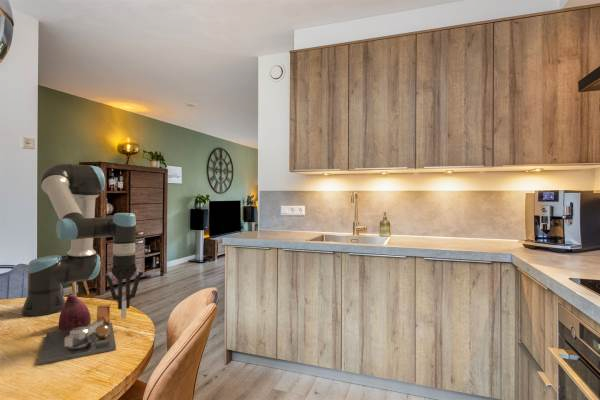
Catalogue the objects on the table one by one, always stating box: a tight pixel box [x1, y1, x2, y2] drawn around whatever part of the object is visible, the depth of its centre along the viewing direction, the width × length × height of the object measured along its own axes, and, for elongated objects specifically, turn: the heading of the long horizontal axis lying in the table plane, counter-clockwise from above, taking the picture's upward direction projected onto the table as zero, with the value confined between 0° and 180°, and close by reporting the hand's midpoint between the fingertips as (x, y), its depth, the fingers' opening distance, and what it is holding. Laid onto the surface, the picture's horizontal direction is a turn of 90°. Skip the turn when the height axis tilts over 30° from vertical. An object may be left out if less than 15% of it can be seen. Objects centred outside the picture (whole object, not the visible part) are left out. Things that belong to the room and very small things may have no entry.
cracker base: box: [37, 322, 117, 366], centre depth 115 cm, size 25×20×7 cm
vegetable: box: [57, 292, 92, 331], centre depth 129 cm, size 10×10×15 cm
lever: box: [65, 304, 111, 346], centre depth 115 cm, size 22×5×7 cm, turn 2°
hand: (123, 317), depth 127 cm, fingers closed
